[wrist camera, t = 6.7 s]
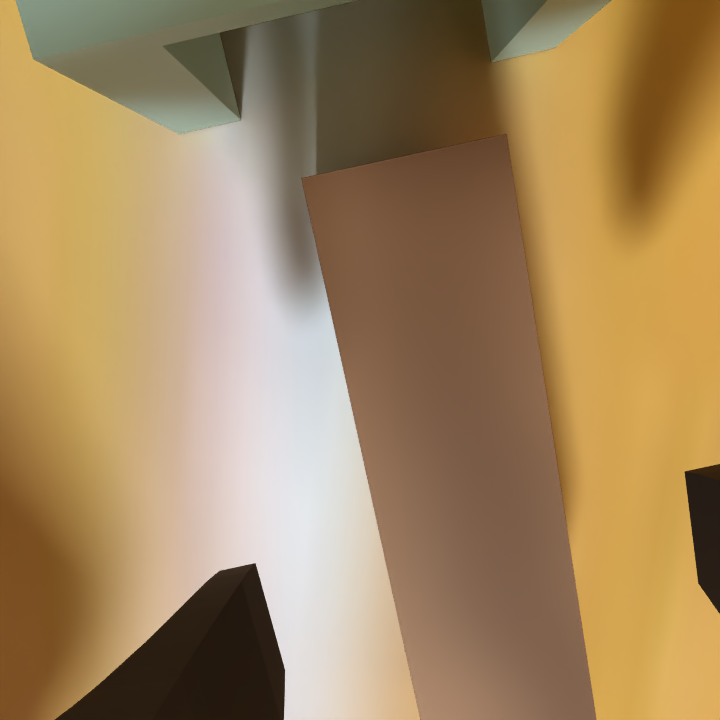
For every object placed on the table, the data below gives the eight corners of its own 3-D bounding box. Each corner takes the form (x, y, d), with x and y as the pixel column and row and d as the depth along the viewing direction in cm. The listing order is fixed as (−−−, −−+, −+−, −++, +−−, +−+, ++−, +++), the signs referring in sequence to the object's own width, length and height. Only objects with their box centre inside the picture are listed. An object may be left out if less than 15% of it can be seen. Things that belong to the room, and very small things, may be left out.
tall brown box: (421, 679, 18) (450, 855, 13) (316, 192, 15) (301, 177, 10) (538, 656, 18) (612, 824, 13) (454, 163, 15) (506, 133, 10)
